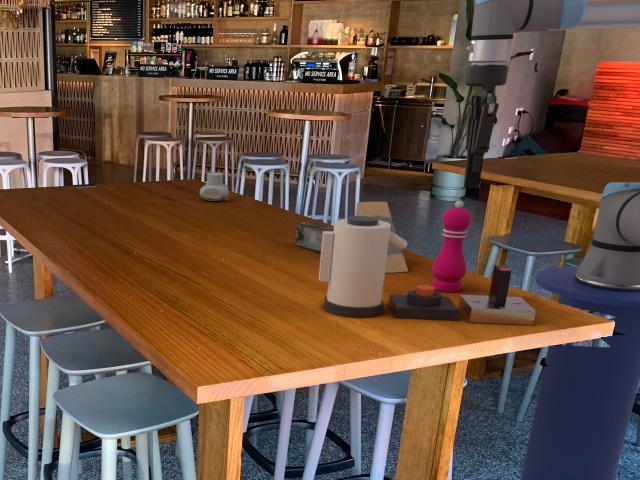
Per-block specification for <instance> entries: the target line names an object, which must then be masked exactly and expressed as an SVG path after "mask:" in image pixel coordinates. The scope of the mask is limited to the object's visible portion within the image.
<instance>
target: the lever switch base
mask: <svg viewBox="0 0 640 480" xmlns="http://www.w3.org/2000/svg"><path fill="white" fill-rule="evenodd" d="M457 308H458V309H459V313H461V314H462V315H463V316H464V318H465V319H466V320H467V321H468V323H471V324H472V323H473V324H474V323H475V324H498V325H517V326H518V325H520V326H521V325H522V326H534V322H535V317H536V311H537V310H536V309H535V308H534V307H533V306H531V304H529V303H528V302H527V301H525V300H524V299H523V298H522V297H521V296H507V299H506V304H505V306H502V305H494V304H493V303H492V302H491V300H490V299H489V295H483V294H482V295H481V294H480V295H479V294H478V295H477V294H459V299H458V304H457Z"/></svg>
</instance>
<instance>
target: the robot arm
mask: <svg viewBox="0 0 640 480" xmlns="http://www.w3.org/2000/svg"><path fill="white" fill-rule="evenodd" d="M473 5H474V6H473V7H474V9H473V16H472V17H473V18H472V26H471V27H472V28H471V36H470V43H469V45H468V46H466V52H468V59H467V62H468V63H470V65H468V66H467V67H466V73H465V79H464V85H465V86H466V87H474V88H473V92H472V95H471V96H470V100H468V101H467V105H466V106H467V119H466V131H465V132H466V133H465V146H464V147H465V150H466V155H467V157H466V158H467V159H466V165H465V172H464V179H463V180H464V182H463V188H464V189H480V186H481V185H480V184H481V177H482V170H483V165H484V164H483V163H484V156H485V155H486V154H488V152H489V150H490V149H489V148H490V143H491V139H492V134H493V130H494V126H495V125H494V124H495V121H496V115H497V112H498V110H499V108H500V104H499V102H497V99H498V98H497V95H496V87H501V86H502V87H503V86H505V85H506V84H507V83H508V82H507V81H508V77H509V76H508V75H509V68H510V67H509V65H507V62H508V63H509V62H510V61H511V56H512V50H513V43H514V34H517V33H528V32H531V33H532V32H544V31H545V32H547V31H548V32H549V31H551V32H553V31H576V30H577V31H579V30H611V29H640V0H474V3H473ZM578 267H579V268H578V270H577V272H576V276H575V281H577V282H578V283H580V284H583V285H586V286H589V287H593V288H598V289H603V290H610V291H621V292H640V182H639V181H638V182H631V181H629V182H627V181H626V182H625V181H622V182H617V181H616V182H614V181H613V182H609V183H607V184H606V185H605V186H604V188H603V191H602V195H601V196H600V203H599V207H598V213H597V216H596V220H595V226H594V231H593V235H592V240H591V245H590V247H589V249H588V252H587V253H586V255H585V256H584V258H583V260H582V261H581V263H580V264H579V266H578Z"/></svg>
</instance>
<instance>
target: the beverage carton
mask: <svg viewBox="0 0 640 480" xmlns="http://www.w3.org/2000/svg"><path fill="white" fill-rule="evenodd" d="M323 231H334V226H332V225H327V224H323V223H320V222H311V223H309V222H306V221H305V222H304V221H303V222H302V223H299V224H297V225H296V229H295V238H294V245H296V246H299V247H302V248H305V249H309V250H312V251H316V252H320V253H321V248H322V237H323Z"/></svg>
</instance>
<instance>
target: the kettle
mask: <svg viewBox="0 0 640 480" xmlns="http://www.w3.org/2000/svg"><path fill="white" fill-rule="evenodd" d="M333 227H334V231H323V237H322V248H321V252H320V259H319V270H318V281H319V282H325V283H326V282H328V283H327V293H326V296H324V299H323V309H324V310H325V311H326V312H328V313H331V314H333V315H335V316H340V317H345V318H359V319H361V318H374V317H377V316H380V315H382V314H383V311H384V303H385V302H384V300H383V291H384V282H385V277H386V276H385V275H386V273H385V268H386V260H387V252H388V244H389V243H391V244H392V245H394V246H396V247H397V248H399V249H401V250H405V249H406V248H407V247H408V242H407V240H406V239H404V238H403V237H401V236H399V235H398V234H397V233H396V234H397V235H396V234H394V233H393V232H391V231H390V228H391V224H389V223H387V222H384V221H379V220H378V219H377V218H375V217H369V216H356V215H351V216H348V217H347V218H341V219H337V220H335V221H334V223H333Z"/></svg>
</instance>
